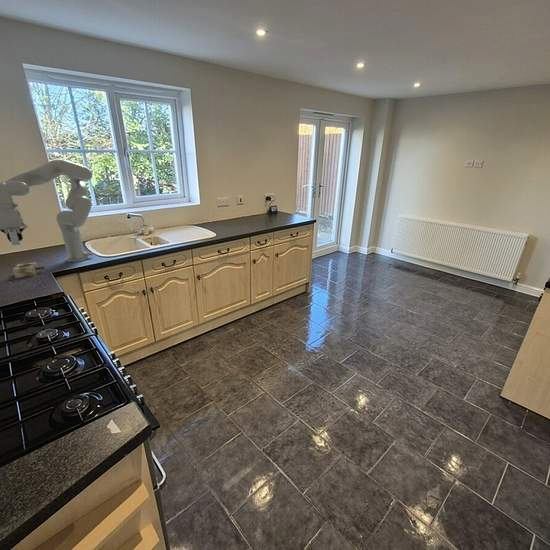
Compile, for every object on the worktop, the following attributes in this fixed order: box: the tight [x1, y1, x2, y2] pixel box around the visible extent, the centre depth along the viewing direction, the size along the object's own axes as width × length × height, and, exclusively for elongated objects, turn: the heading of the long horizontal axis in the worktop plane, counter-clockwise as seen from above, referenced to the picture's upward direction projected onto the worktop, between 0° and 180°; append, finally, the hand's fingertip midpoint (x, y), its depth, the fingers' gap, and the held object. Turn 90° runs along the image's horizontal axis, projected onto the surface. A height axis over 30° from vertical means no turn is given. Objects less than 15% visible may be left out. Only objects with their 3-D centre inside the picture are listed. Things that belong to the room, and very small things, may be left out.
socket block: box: [12, 262, 46, 279], centre depth 171 cm, size 13×9×5 cm
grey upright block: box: [7, 228, 22, 246], centre depth 163 cm, size 3×6×9 cm, turn 27°
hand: (16, 240), depth 164 cm, fingers closed on grey upright block, 3 cm apart
